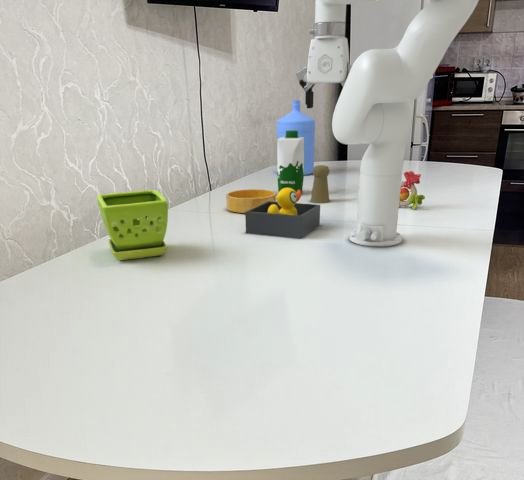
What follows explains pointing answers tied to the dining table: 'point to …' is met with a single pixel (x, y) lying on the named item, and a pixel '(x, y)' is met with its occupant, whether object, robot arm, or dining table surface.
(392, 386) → the dining table surface
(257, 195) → the bowl
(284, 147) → the milk carton
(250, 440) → the dining table surface
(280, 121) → the water jug
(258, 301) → the dining table surface
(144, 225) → the flower pot
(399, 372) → the dining table surface
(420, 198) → the bird rattle
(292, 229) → the bin
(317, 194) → the cork
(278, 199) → the duckling
